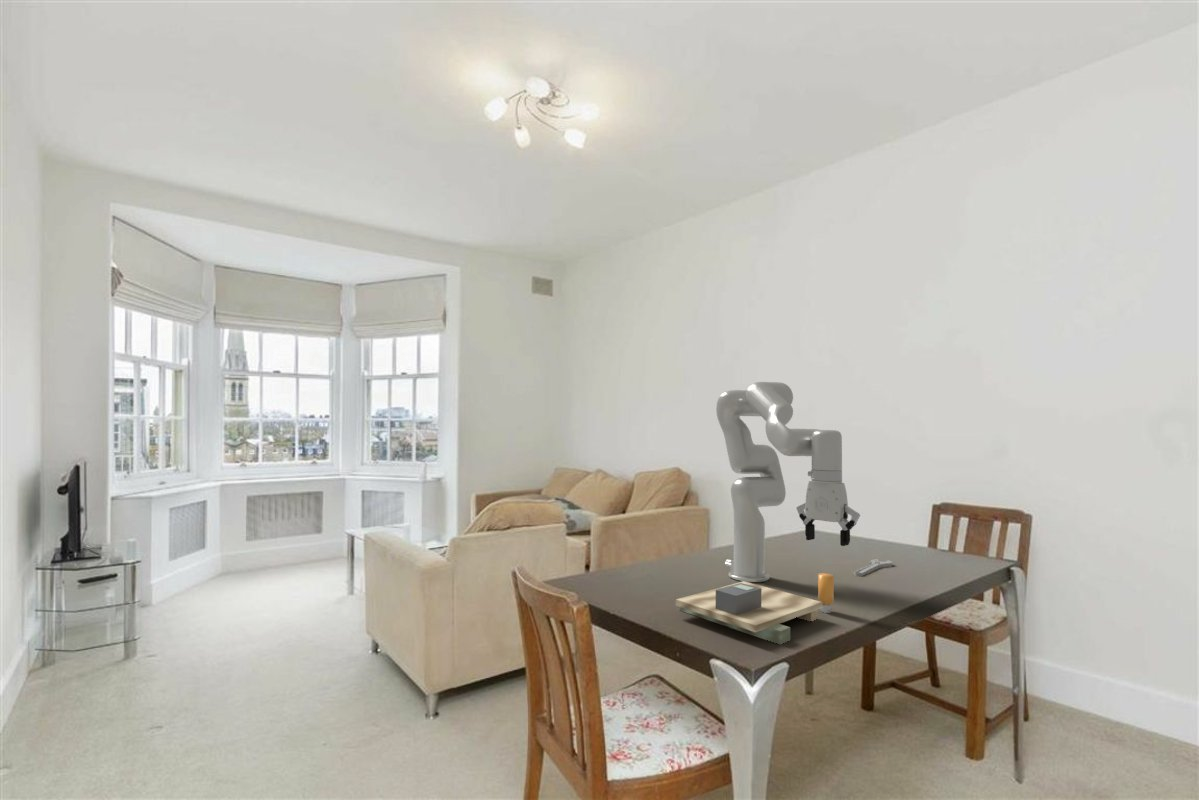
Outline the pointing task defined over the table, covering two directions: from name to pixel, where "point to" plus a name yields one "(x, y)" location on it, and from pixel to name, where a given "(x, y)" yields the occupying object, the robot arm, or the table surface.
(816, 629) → the table surface
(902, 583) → the table surface
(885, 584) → the table surface
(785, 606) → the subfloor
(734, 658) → the table surface
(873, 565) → the adjustable wrench
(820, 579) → the orange and grey cylinder
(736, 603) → the block
